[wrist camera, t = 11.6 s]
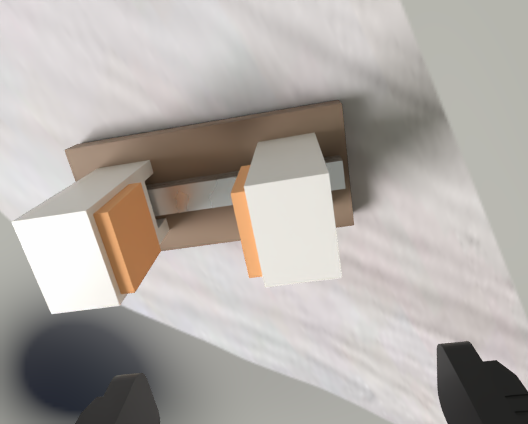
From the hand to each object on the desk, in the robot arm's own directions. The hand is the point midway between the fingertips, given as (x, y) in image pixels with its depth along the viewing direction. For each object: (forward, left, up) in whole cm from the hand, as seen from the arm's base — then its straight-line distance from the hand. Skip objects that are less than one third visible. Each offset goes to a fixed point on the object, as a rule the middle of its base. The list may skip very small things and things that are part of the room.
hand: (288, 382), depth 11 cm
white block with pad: (0, 0, -19) cm, 19 cm away
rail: (0, -6, -21) cm, 22 cm away
